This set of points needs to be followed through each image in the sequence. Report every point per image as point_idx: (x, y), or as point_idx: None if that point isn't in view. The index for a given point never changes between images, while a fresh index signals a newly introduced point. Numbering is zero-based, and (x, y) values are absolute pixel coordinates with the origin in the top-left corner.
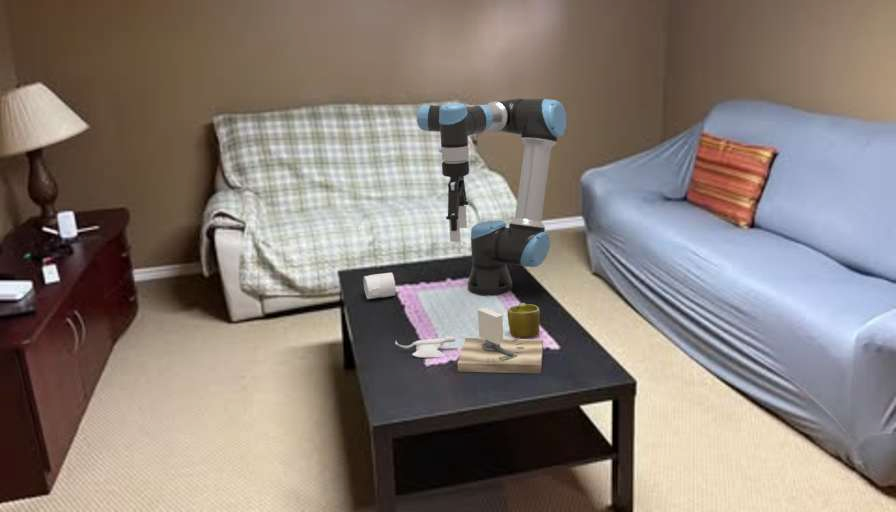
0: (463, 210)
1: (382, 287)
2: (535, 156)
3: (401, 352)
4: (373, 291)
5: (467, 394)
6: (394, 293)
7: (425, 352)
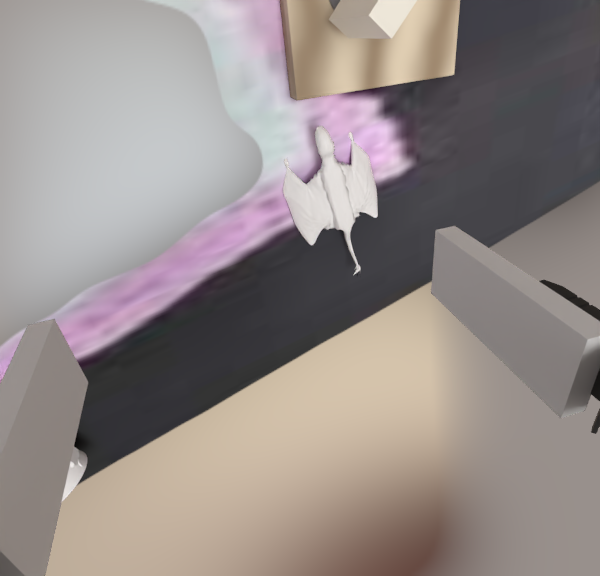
0: (9, 484)
1: None
2: None
3: (348, 249)
4: (76, 457)
5: (551, 9)
6: None
7: (370, 189)
